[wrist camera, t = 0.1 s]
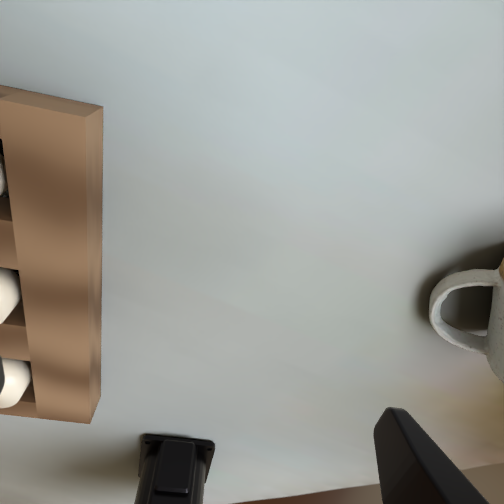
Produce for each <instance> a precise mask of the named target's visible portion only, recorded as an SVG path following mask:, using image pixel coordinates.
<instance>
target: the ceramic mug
mask: <svg viewBox="0 0 504 504" xmlns="http://www.w3.org/2000/svg"><path fill="white" fill-rule="evenodd" d="M480 285H481V286H494V287H493V299H492V308H491V314H490V320H489V325H488V331H487V336H478V335H474V334H470V333H466V332H463V331H460V330H458V329H455V328H453V327H451V326H450V325H448V324H447V323H446V322H445V321H443V320H442V318H441V315H440V310H441V304H442V302H443V301H444V300H445V299H446V297H447V295H448V294H449V293H450V292H451V291H452V290H455V289H459V288H462V287H470V286H480ZM429 319H430V323H431V326H432V327H433V329H434V330H435V331H436V332H437V333H438V334H439V335H440V336H441V337H442V338H444V339H445V340H446V341H448V342H450V343H452V344H453V345H455V346H458V347H460V348H463V349H465V350H468V351H472V352H476V353H481V354H485V355H486V356H487V360H488V362H489V364H490V366H491V369H492V371H493V372H494V373H495V374H496V376H497V377H498V378H499V379H500V380H501V381H502V382H503V383H504V258H503V260H502V262H501V264H500V266H499V268H498V269H496V270H486V269H473V270H468V271H462V272H456V273H453V274H451V275H449V276H447V277H445V278H444V279H442V280H441V281H440V282H439V283H438V284H437V285H436V286H435V288H434V289H433V291H432V293H431V296H430V302H429Z"/></svg>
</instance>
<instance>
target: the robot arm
mask: <svg viewBox="0 0 504 504" xmlns="http://www.w3.org/2000/svg"><path fill="white" fill-rule="evenodd" d="M4 383H5V374H4V368H3V362H2V357H1V356H0V394H1V392H2V390H3V387H4ZM374 443H375V450H376V458H377V465H378V473H379V480H380V488H381V494H382V501H383V504H489V502H488V501H487V500H486V499H485V498H484V497H483V496H482V495H481V494H480V493H479V491H478V490H477V489H476V488H475V487H474V486H473V485H472V483H471V482H470V481H469V480H468V479H467V478H466V477H465V476H464V475H463V473H462V472H461V471H460V470H459V469H458V468H457V467H456V466H455V464H454V463H453V462H452V461H451V460H450V459H449V458H448V457H447V456H446V454H445V453H444V452H443V451H442V450H441V449H440V448H439V447H438V446H437V444H436V443H435V442H434V441H433V440H432V439H431V438H430V437H429V435H428V434H427V433H426V432H425V431H424V430H423V429H422V428H421V427H420V425H419V424H418V423H417V422H416V421H415V420H414V419H413V418H412V417H411V415H410V414H409V413H408V412H407V411H406V410H404V409H401V408H395V407H388V408H386V409H385V411H384V412H383V414H382V416H381V417H380V419H379V420H378V422H377V423H376V425H375V428H374ZM214 451H215V444H214V443H213V442H207V441H198V440H189V439H180V438H171V437H162V436H153V435H145V436H143V439H142V445H141V454H140V464H139V474H138V476H139V477H140V481H139V485H138V490H137V494H136V498H135V503H134V504H203V494H204V483H206V480H207V476H208V473H209V469H210V465H211V462H212V458H213V455H214Z"/></svg>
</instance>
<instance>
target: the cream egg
mask: <svg viewBox="0 0 504 504" xmlns="http://www.w3.org/2000/svg"><path fill="white" fill-rule="evenodd" d="M7 189H8V182H7V174H6V167H5V160H4V158H3V157H2V155H1V154H0V196H1V195H3V194H4V193H5V192H6V190H7Z"/></svg>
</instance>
